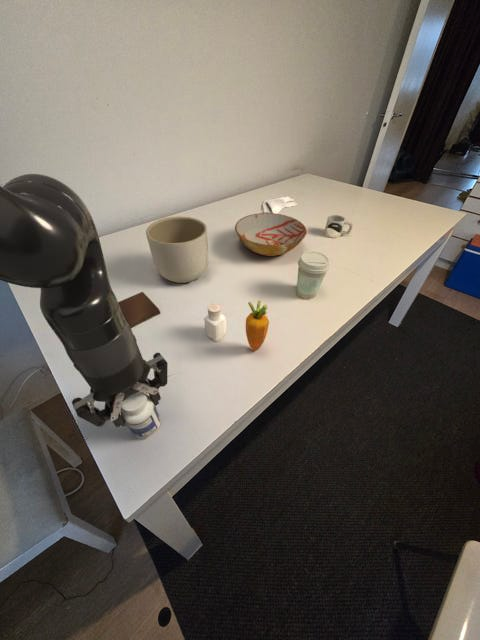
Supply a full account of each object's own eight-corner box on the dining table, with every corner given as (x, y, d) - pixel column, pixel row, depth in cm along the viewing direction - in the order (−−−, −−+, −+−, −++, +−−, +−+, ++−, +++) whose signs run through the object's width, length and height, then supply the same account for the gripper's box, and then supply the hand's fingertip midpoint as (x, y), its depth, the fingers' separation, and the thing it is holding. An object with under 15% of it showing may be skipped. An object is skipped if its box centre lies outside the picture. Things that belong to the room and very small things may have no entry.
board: (93, 346, 63) (91, 342, 62) (79, 323, 68) (77, 319, 67) (160, 313, 72) (159, 309, 70) (143, 295, 77) (142, 291, 76)
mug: (323, 237, 104) (327, 220, 99) (323, 229, 109) (327, 213, 104) (349, 240, 103) (355, 224, 98) (348, 232, 107) (354, 216, 103)
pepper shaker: (216, 326, 68) (214, 298, 62) (227, 334, 67) (226, 306, 60) (205, 335, 66) (201, 307, 59) (216, 343, 64) (214, 315, 58)
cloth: (281, 195, 136) (281, 190, 134) (302, 202, 129) (303, 198, 127) (246, 209, 122) (246, 204, 121) (268, 218, 116) (269, 213, 114)
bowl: (253, 273, 85) (254, 252, 80) (224, 239, 102) (224, 219, 96) (316, 258, 93) (321, 237, 87) (280, 228, 109) (282, 208, 103)
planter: (155, 292, 78) (142, 245, 67) (158, 261, 90) (148, 217, 79) (211, 287, 80) (208, 242, 69) (208, 257, 92) (205, 215, 81)
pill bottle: (138, 409, 52) (124, 383, 45) (164, 413, 51) (154, 387, 44) (126, 437, 48) (109, 412, 41) (154, 441, 47) (141, 417, 41)
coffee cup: (287, 295, 78) (293, 260, 70) (299, 281, 83) (306, 247, 75) (313, 306, 75) (324, 271, 66) (324, 291, 80) (335, 256, 71)
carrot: (240, 348, 63) (241, 302, 53) (255, 339, 65) (260, 292, 55) (253, 362, 61) (257, 315, 50) (269, 352, 63) (276, 305, 52)
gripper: (144, 312, 39) (165, 375, 51) (36, 362, 32) (89, 421, 44) (170, 341, 35) (185, 402, 47) (53, 405, 28) (106, 458, 40)
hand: (139, 411), depth 46 cm, fingers closed on pill bottle, 5 cm apart
